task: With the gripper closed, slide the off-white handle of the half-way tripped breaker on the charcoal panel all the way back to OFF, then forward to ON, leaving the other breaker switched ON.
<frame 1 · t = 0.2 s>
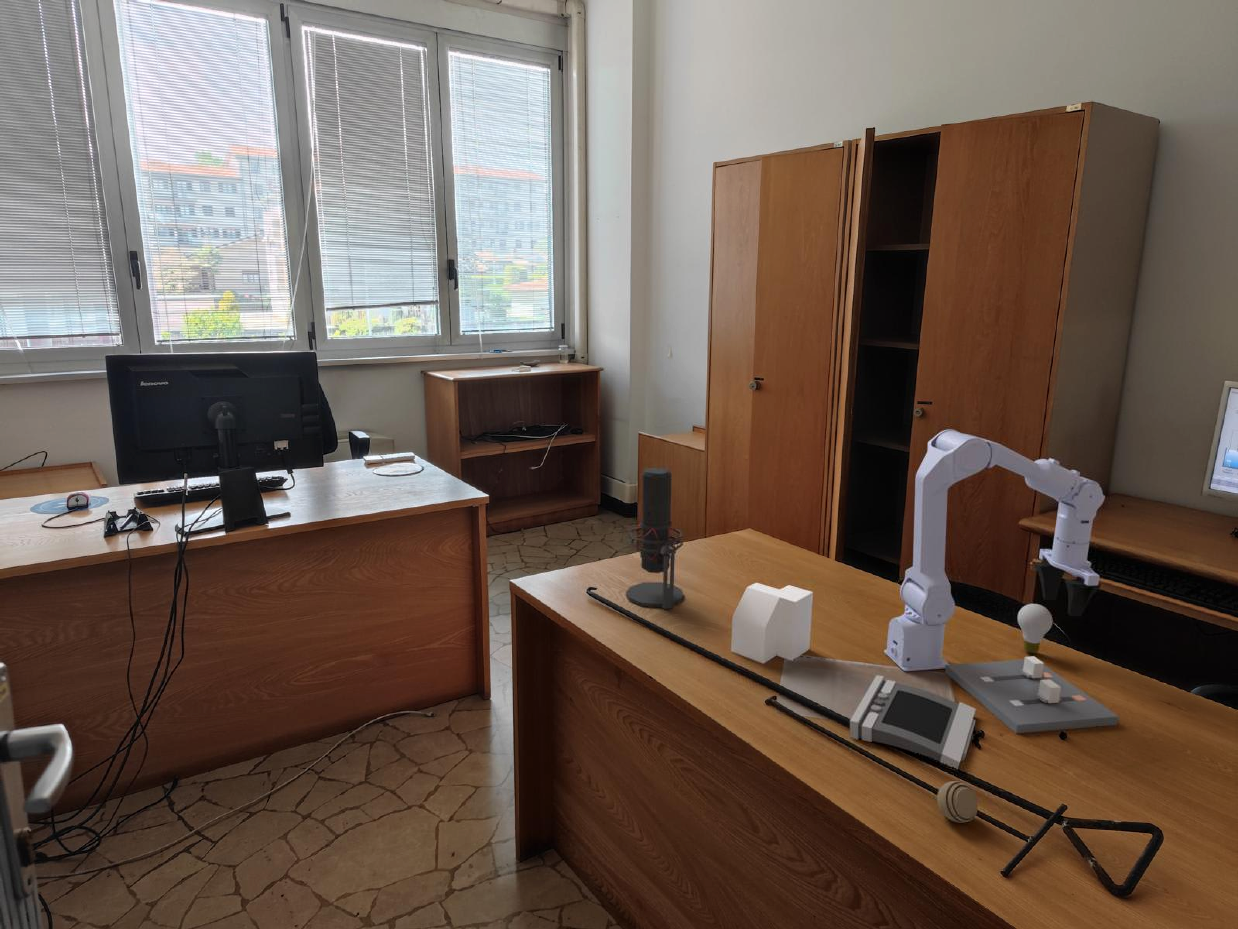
hand: (1061, 607, 143), 10 cm above the table, tool pointing down, fingers open, 7 cm apart
breaker on: (1033, 667, 134), point 3 cm above the table, slide at 6.0 cm
breaker tripped: (1049, 691, 125), point 3 cm above the table, slide at 3.0 cm
alarm clock: (914, 731, 121), on the table
door knob: (955, 819, 100), on the table
light bulb: (1030, 653, 146), on the table
panel: (1025, 697, 130), on the table
white chamfered block: (770, 651, 147), on the table
microphone: (656, 598, 172), on the table
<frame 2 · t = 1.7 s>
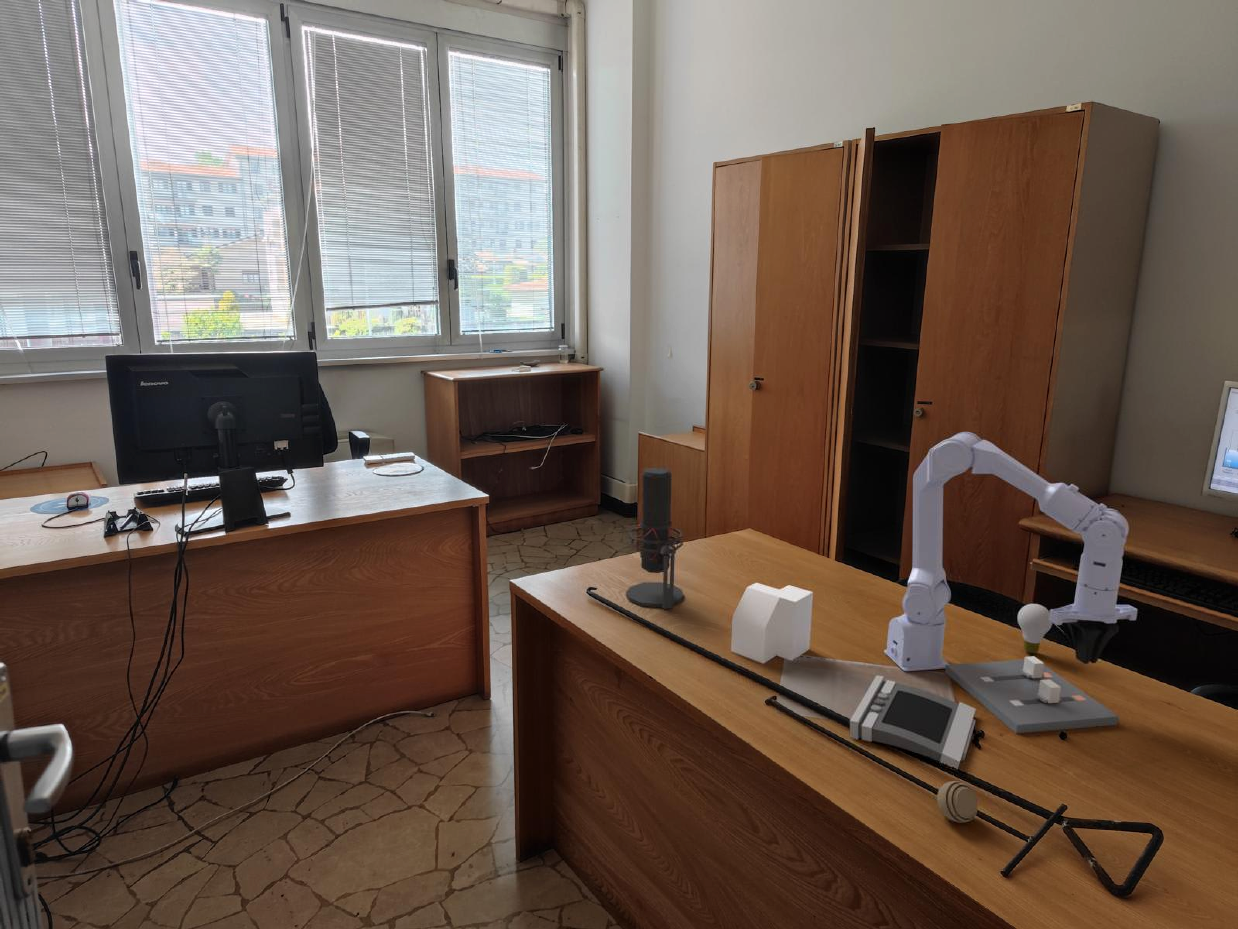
hand: (1085, 660, 125), 8 cm above the table, tool pointing down, fingers closed
nothing on the table moved.
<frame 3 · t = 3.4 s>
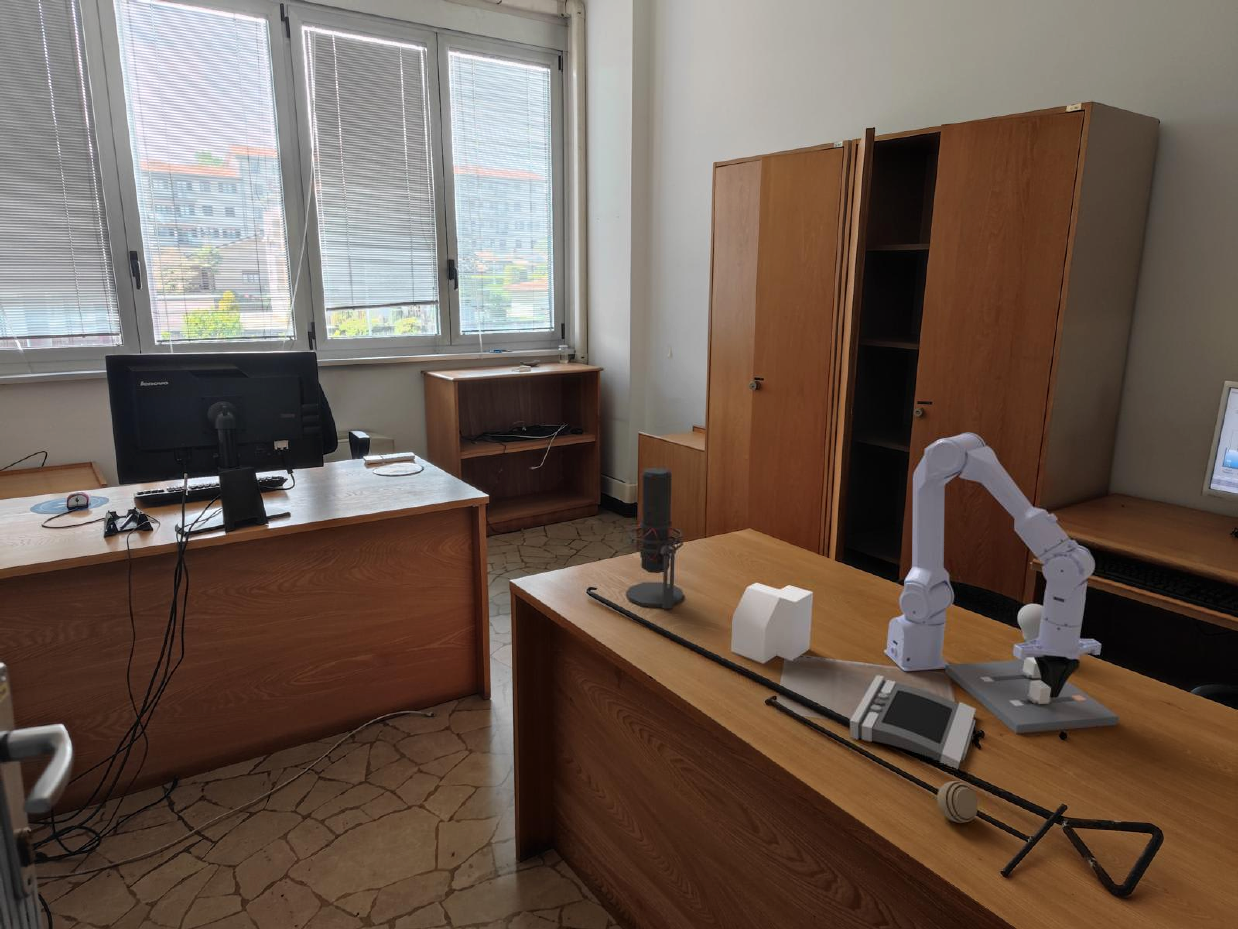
hand: (1050, 694, 126), 3 cm above the table, tool pointing down, fingers closed
breaker tripped: (1039, 692, 125), point 3 cm above the table, slide at 1.2 cm, touching gripper
everything else where it was.
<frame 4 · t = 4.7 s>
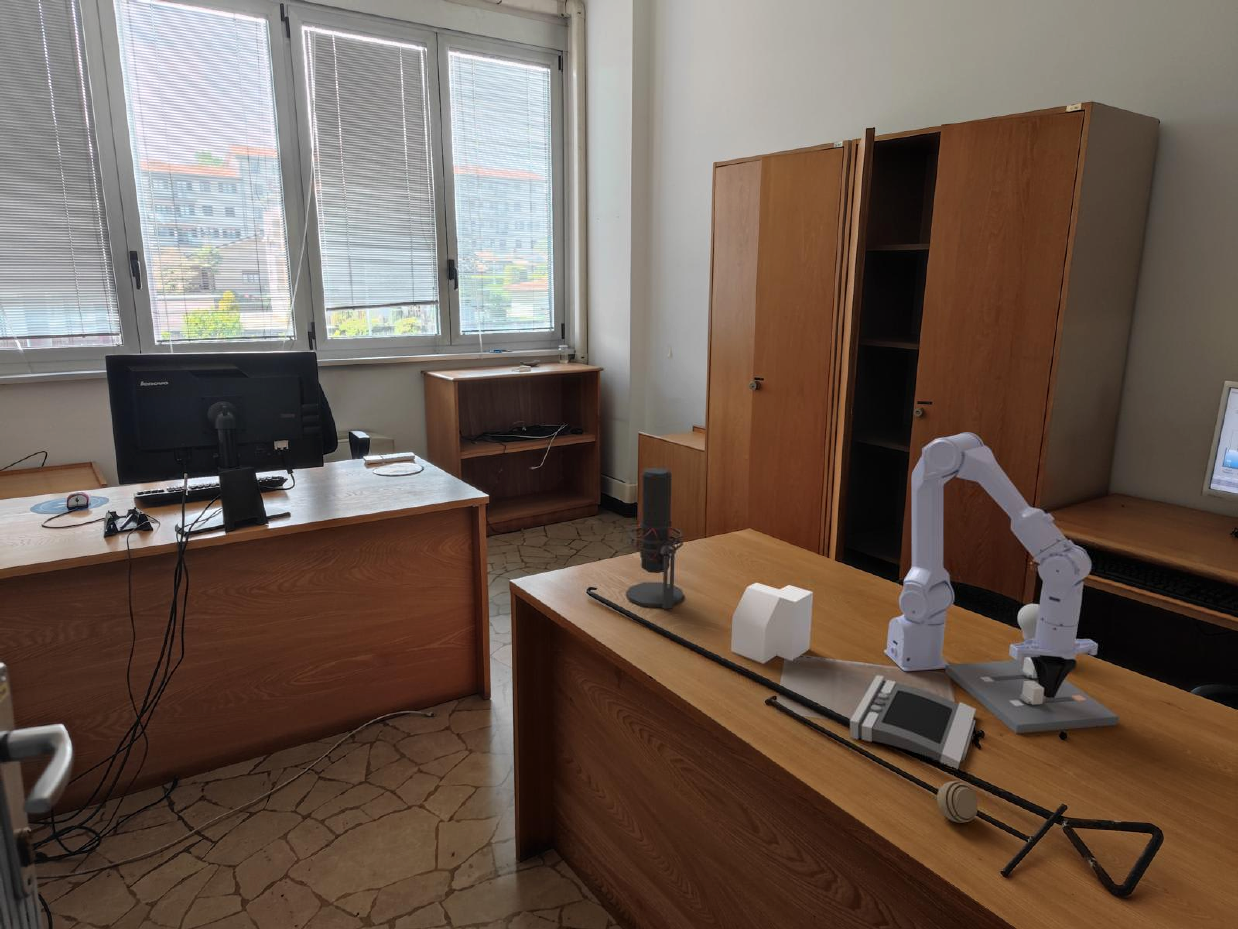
hand: (1047, 694, 126), 3 cm above the table, tool pointing down, fingers closed
breaker tripped: (1032, 692, 125), point 3 cm above the table, slide at -0.1 cm
everything else where it was.
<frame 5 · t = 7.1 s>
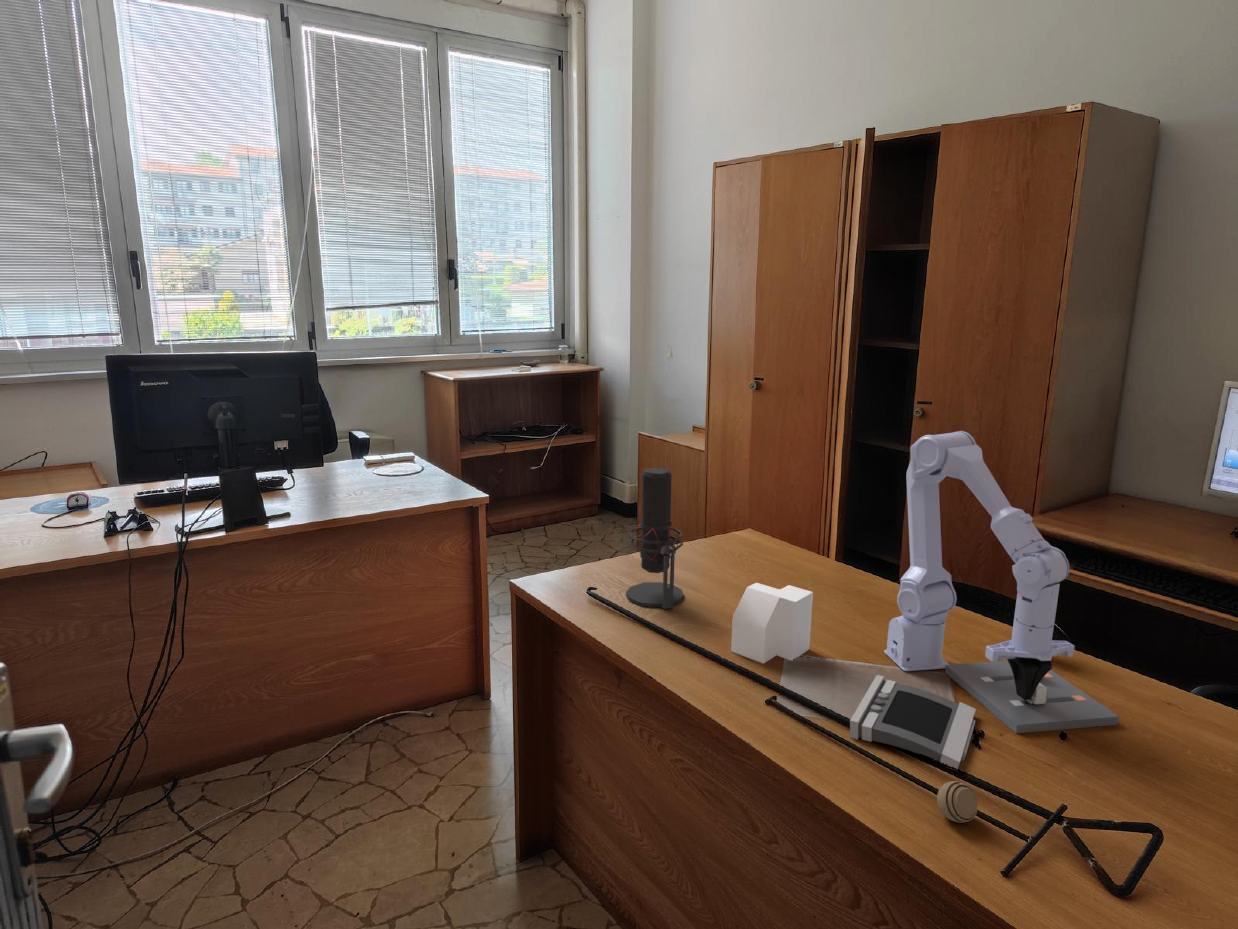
hand: (1023, 696, 125), 3 cm above the table, tool pointing down, fingers closed
breaker tripped: (1035, 692, 125), point 3 cm above the table, slide at 0.5 cm, touching gripper
everything else where it was.
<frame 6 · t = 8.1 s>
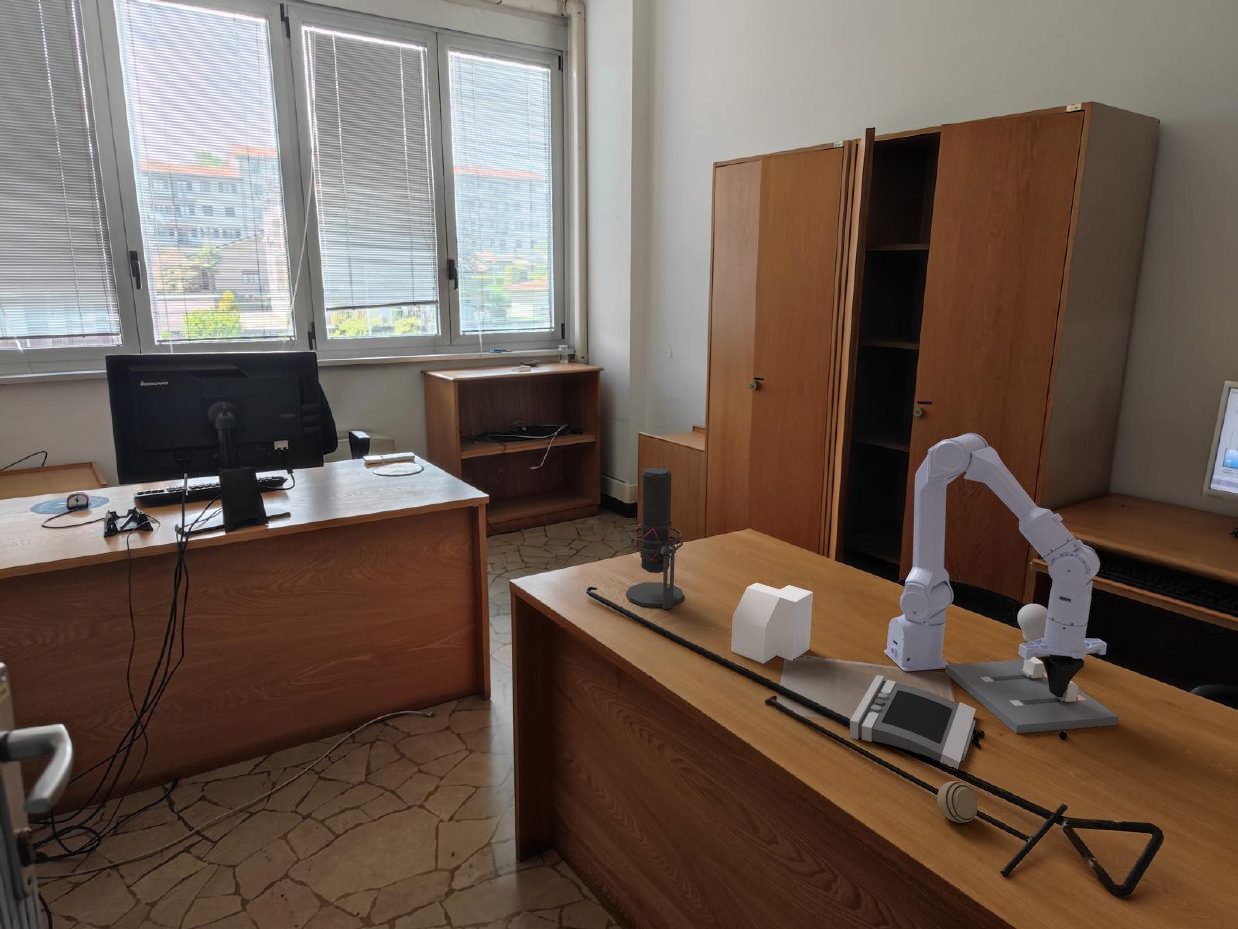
hand: (1055, 694, 126), 3 cm above the table, tool pointing down, fingers closed
breaker tripped: (1066, 690, 126), point 3 cm above the table, slide at 6.2 cm, touching gripper
everything else where it was.
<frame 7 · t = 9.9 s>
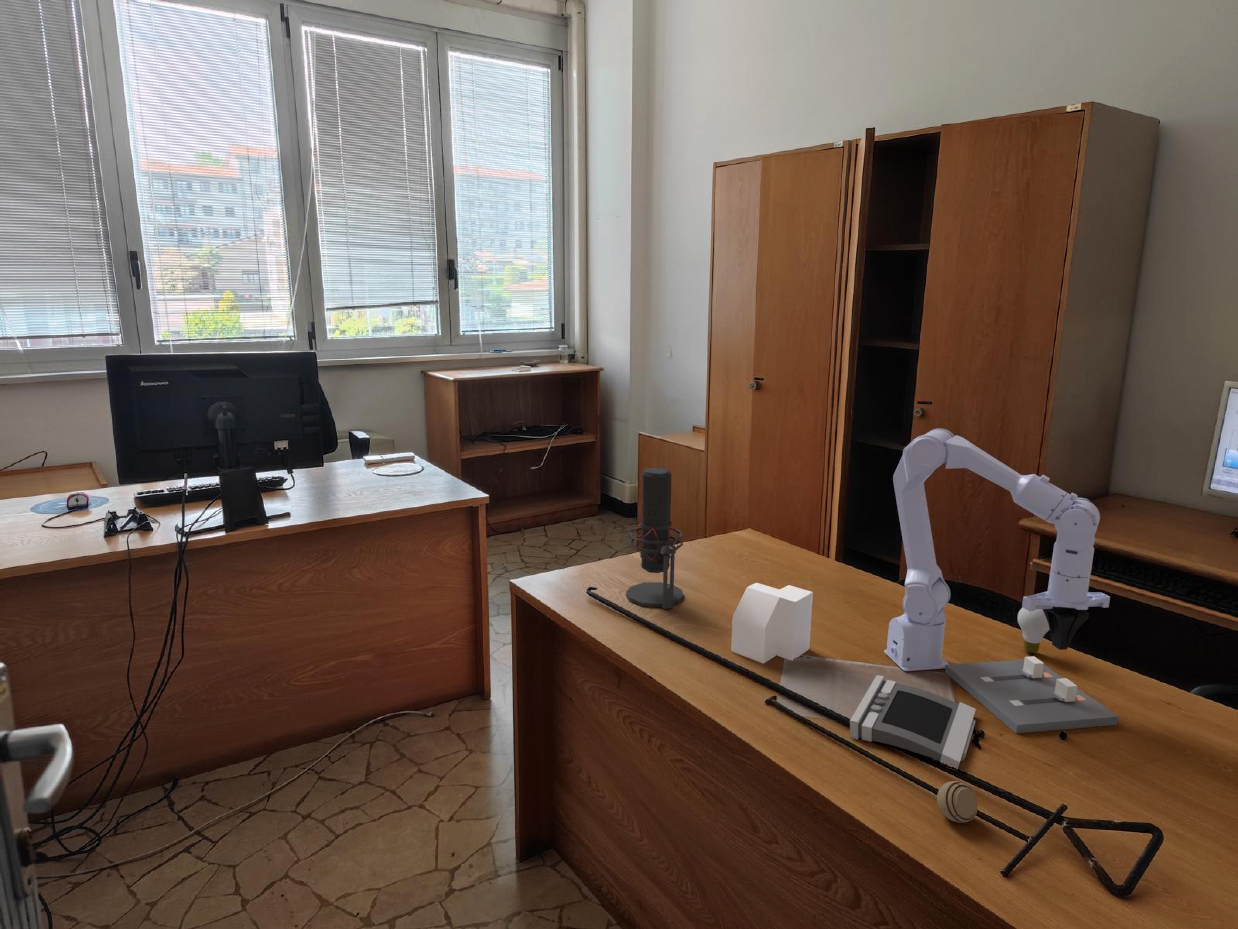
hand: (1059, 647, 128), 9 cm above the table, tool pointing down, fingers closed
breaker tripped: (1065, 690, 126), point 3 cm above the table, slide at 6.1 cm
everything else where it was.
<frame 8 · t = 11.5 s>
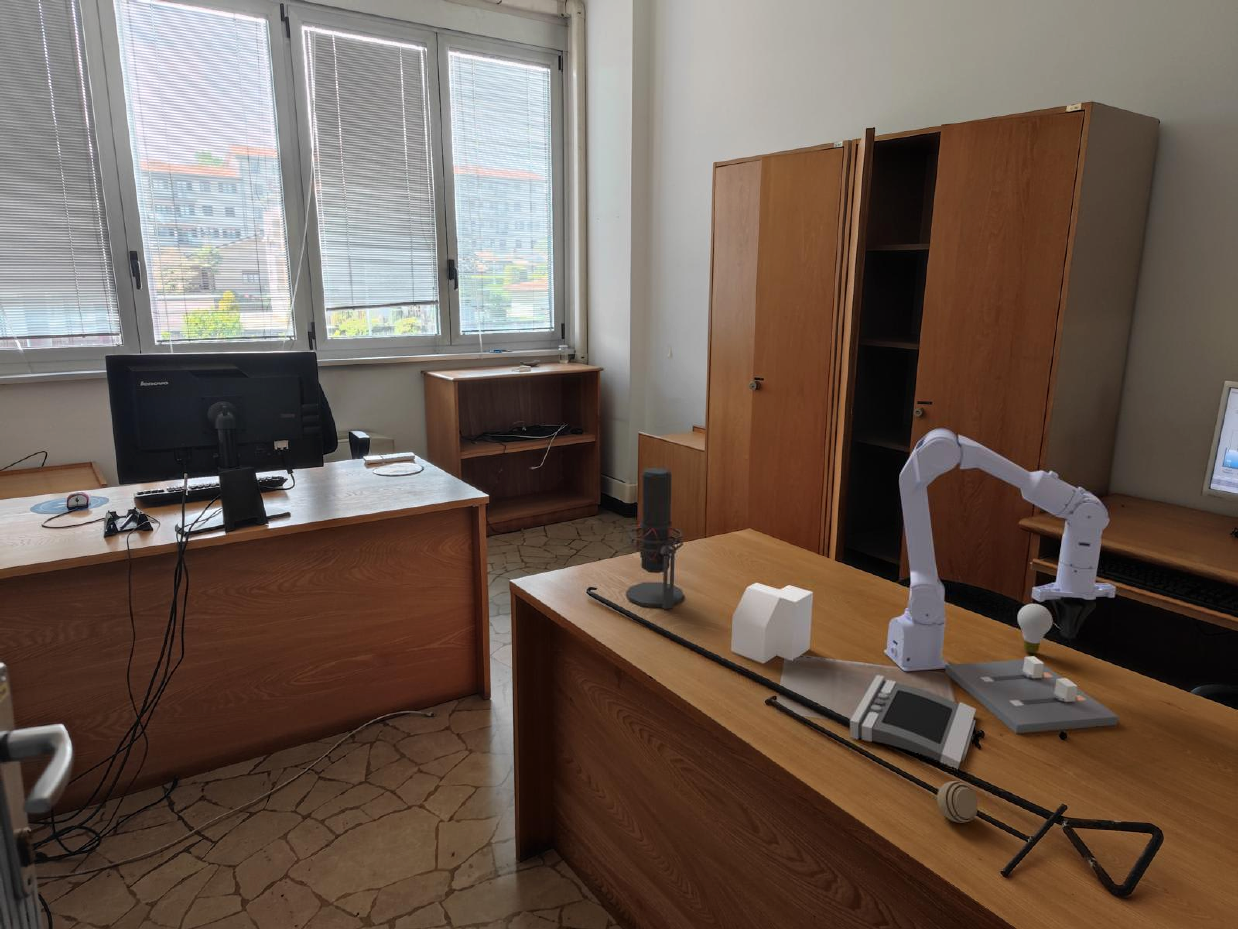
hand: (1067, 636, 132), 9 cm above the table, tool pointing down, fingers closed
nothing on the table moved.
at the end: breaker tripped slide at 6.1 cm; breaker on slide at 6.0 cm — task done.
